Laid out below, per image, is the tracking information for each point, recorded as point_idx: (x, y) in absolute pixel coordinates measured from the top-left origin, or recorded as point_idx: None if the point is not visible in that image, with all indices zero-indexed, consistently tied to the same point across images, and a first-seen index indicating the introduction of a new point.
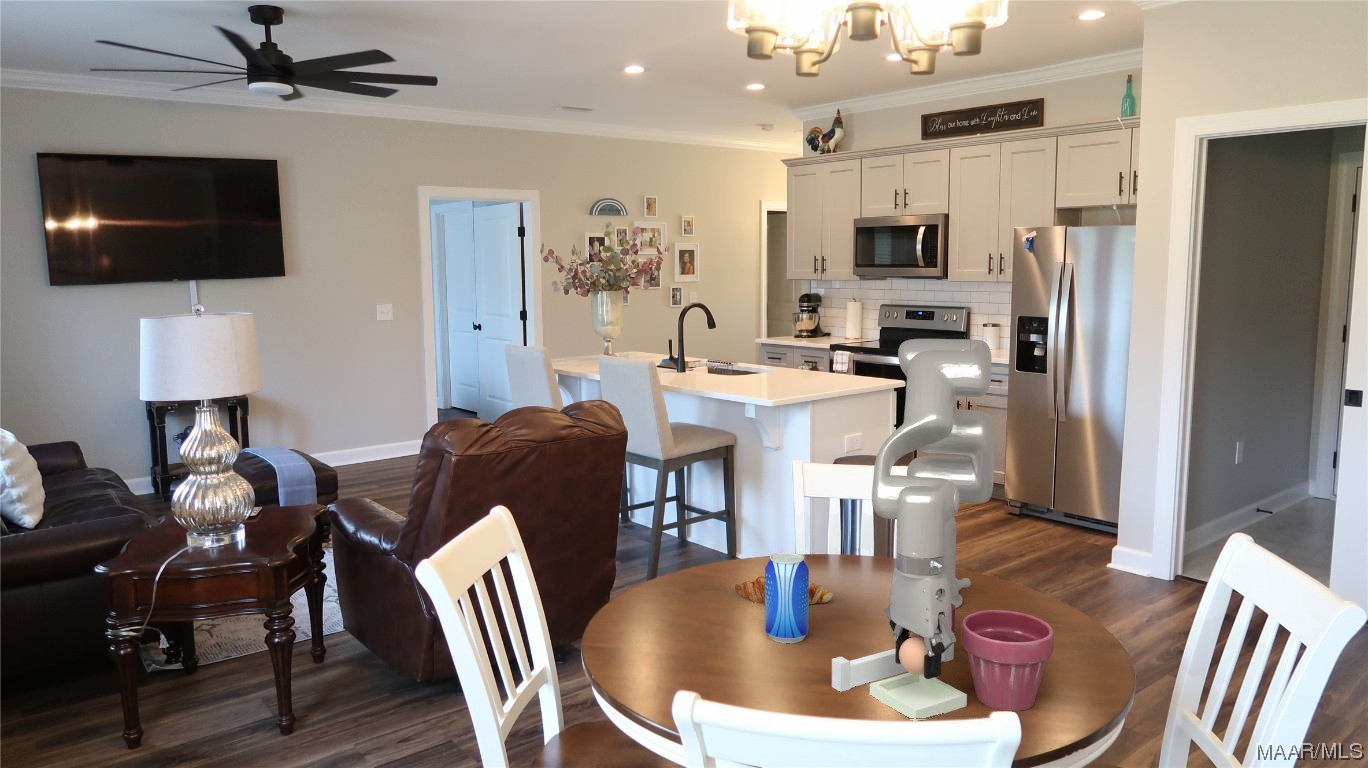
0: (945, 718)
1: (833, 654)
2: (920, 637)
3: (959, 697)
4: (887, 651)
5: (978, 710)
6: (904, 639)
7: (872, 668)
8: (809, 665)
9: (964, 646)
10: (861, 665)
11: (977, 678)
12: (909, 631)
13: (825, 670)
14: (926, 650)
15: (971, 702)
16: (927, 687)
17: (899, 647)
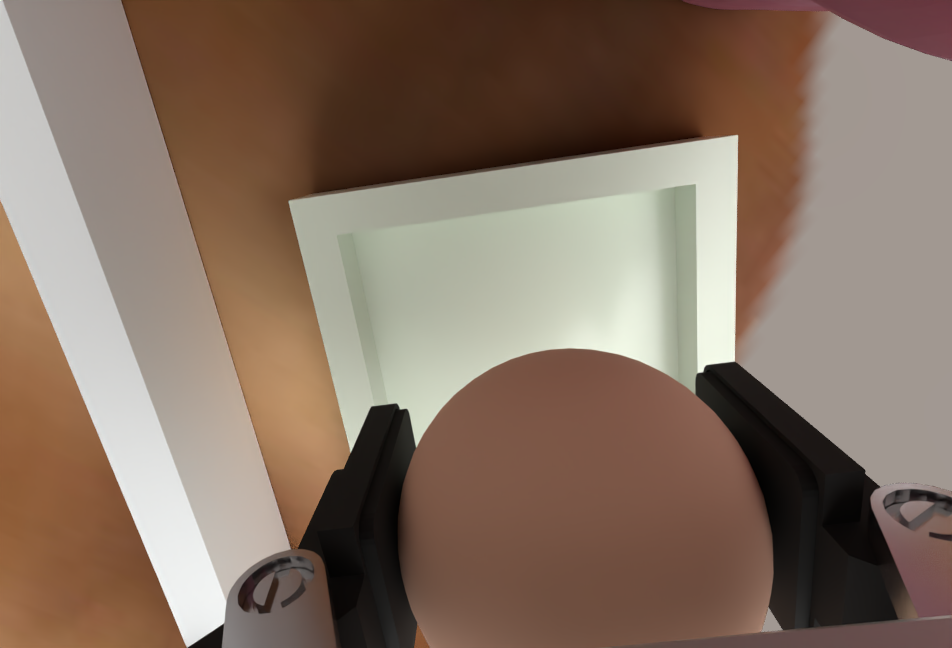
0: (745, 330)
1: None
2: (582, 633)
3: (736, 204)
4: (78, 358)
5: (776, 100)
6: (375, 626)
7: (221, 475)
8: (10, 592)
9: (914, 45)
10: (228, 572)
11: (813, 10)
12: (337, 641)
13: (78, 558)
14: (763, 611)
15: (680, 70)
16: (442, 228)
17: (415, 630)
